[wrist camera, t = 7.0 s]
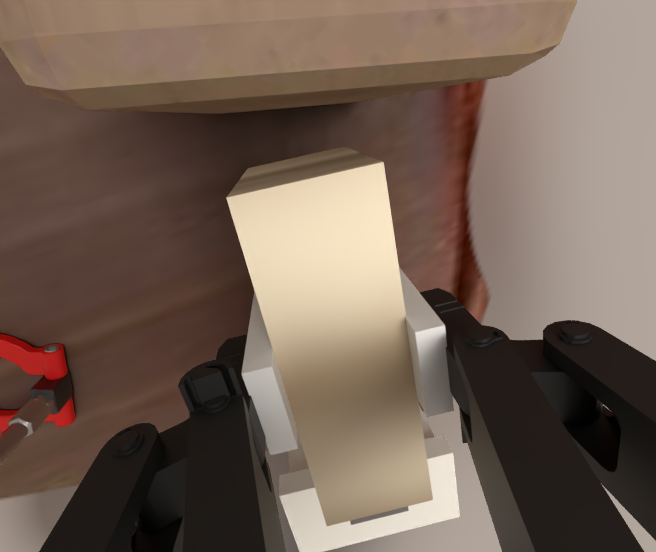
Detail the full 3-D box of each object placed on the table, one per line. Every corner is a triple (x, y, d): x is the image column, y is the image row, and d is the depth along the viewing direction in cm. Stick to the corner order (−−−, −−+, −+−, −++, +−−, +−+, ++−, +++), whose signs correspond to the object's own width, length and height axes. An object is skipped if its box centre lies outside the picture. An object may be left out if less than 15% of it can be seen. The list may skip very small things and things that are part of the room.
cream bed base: (267, 309, 30) (259, 442, 18) (379, 283, 30) (446, 395, 18) (293, 395, 33) (301, 557, 21) (394, 371, 34) (459, 516, 21)
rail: (247, 168, 14) (226, 197, 9) (344, 146, 14) (383, 162, 9) (326, 451, 20) (343, 582, 14) (396, 434, 20) (441, 557, 14)
